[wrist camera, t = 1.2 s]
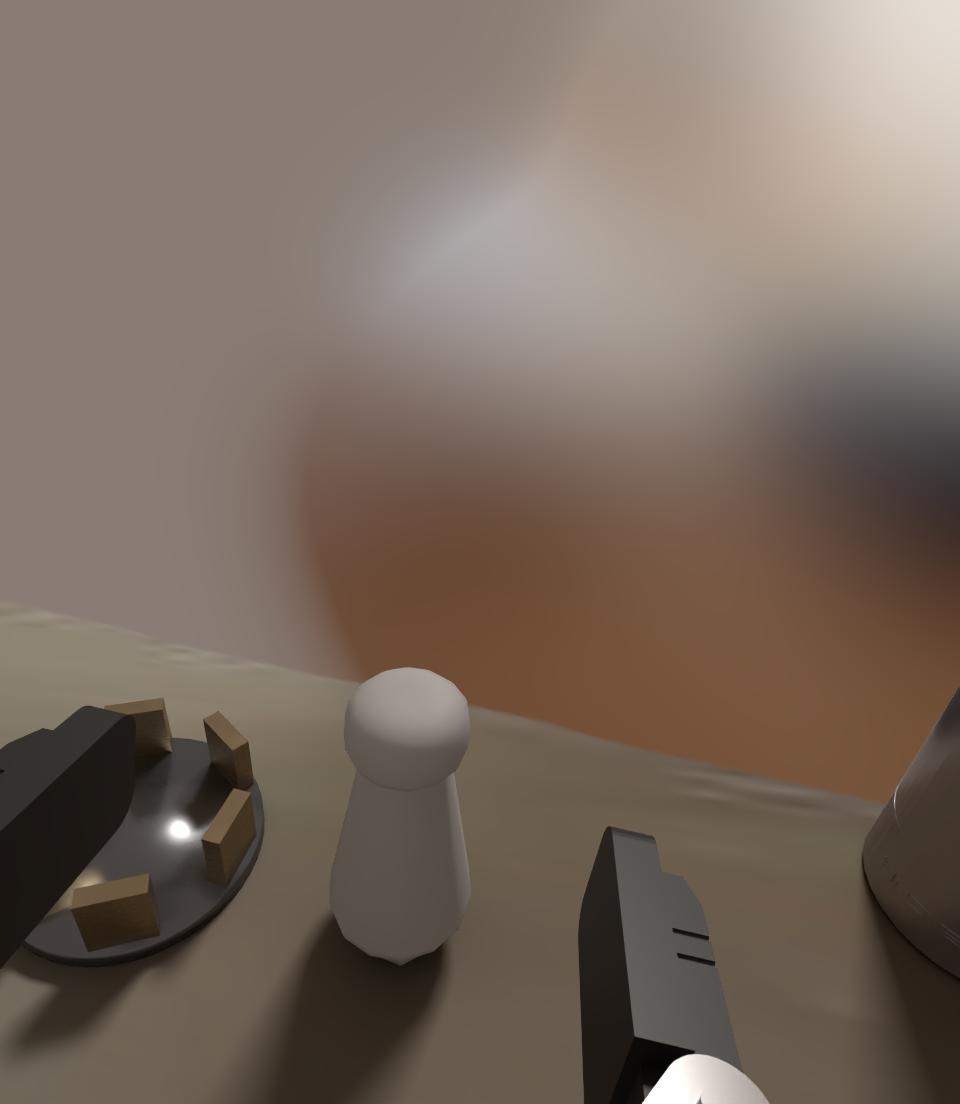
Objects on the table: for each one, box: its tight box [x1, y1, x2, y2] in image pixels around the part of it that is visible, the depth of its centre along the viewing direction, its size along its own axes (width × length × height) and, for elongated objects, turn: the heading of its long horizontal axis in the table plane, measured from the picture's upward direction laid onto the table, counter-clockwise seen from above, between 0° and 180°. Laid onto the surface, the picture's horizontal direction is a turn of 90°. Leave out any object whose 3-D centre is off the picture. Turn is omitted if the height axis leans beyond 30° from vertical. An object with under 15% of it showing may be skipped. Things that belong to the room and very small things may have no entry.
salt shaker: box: [329, 667, 471, 966], centre depth 27 cm, size 6×6×13 cm
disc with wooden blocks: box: [22, 698, 264, 967], centre depth 32 cm, size 11×11×4 cm
